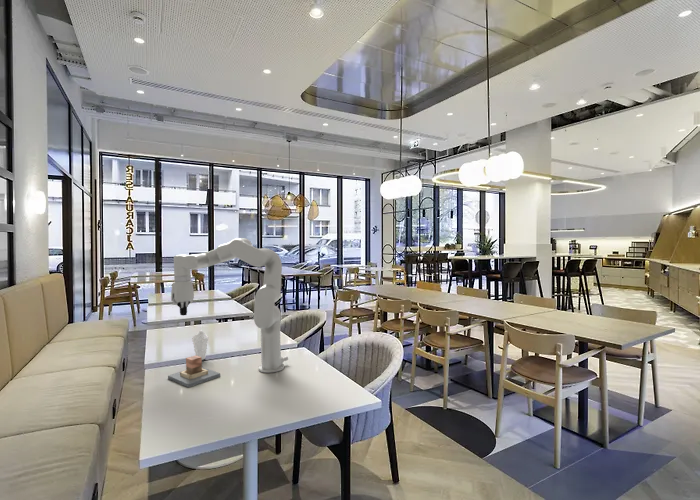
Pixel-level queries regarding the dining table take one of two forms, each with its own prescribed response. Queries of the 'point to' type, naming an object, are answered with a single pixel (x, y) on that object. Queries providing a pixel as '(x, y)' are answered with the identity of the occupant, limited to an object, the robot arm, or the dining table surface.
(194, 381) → the slate board
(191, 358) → the block stack
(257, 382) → the dining table surface
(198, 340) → the soft serve ice cream cone
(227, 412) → the dining table surface
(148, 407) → the dining table surface
